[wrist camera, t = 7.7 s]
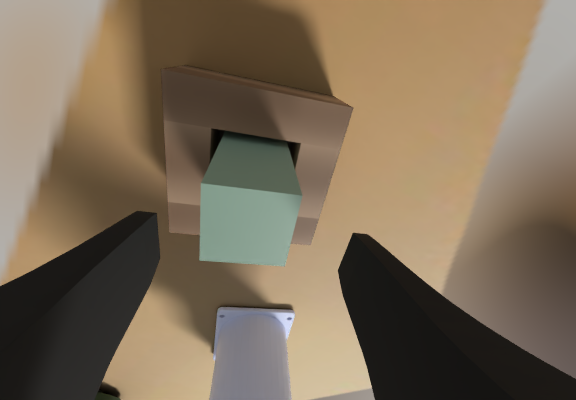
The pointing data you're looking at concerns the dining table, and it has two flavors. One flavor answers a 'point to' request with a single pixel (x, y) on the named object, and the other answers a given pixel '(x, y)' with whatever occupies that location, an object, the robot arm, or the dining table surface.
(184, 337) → the dining table surface
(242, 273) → the dining table surface
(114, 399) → the character mug
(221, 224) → the square peg
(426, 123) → the dining table surface
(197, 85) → the hole block
